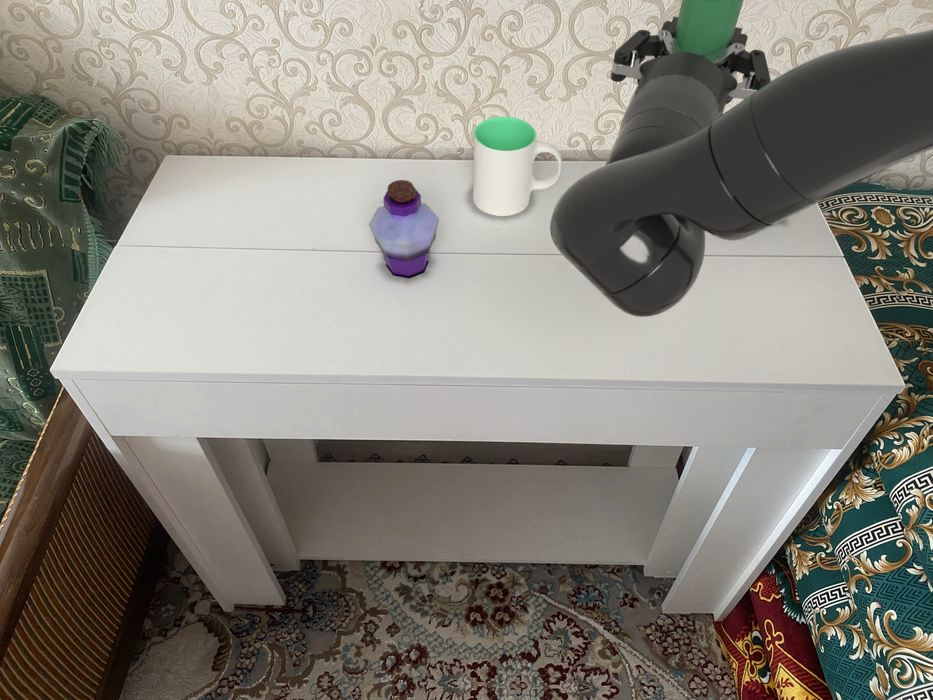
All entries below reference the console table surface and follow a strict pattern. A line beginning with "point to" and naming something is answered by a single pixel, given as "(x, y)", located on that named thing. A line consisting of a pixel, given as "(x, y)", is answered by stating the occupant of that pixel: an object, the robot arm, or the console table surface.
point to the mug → (507, 165)
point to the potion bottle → (404, 230)
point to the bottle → (706, 25)
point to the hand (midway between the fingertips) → (704, 32)
